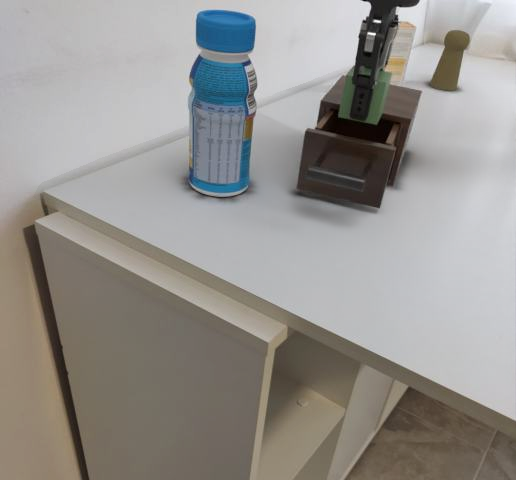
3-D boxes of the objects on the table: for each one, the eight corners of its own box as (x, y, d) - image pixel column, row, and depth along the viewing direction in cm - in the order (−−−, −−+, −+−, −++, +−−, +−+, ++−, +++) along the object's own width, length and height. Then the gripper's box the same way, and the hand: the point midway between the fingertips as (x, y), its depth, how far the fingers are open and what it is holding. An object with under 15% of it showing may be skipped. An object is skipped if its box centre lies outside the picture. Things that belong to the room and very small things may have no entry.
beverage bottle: (205, 203, 68) (210, 25, 55) (176, 176, 73) (175, 7, 60) (261, 192, 72) (278, 23, 59) (230, 167, 77) (239, 6, 64)
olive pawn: (455, 92, 118) (473, 36, 110) (427, 87, 119) (443, 31, 112) (457, 85, 122) (475, 31, 115) (431, 80, 123) (446, 26, 116)
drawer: (372, 228, 66) (388, 167, 61) (284, 206, 68) (292, 146, 63) (393, 170, 80) (408, 117, 75) (320, 154, 82) (329, 101, 77)
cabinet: (392, 186, 78) (411, 118, 71) (309, 167, 80) (320, 100, 74) (405, 152, 88) (422, 90, 82) (331, 136, 91) (342, 75, 84)
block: (345, 106, 72) (353, 65, 68) (382, 113, 71) (392, 72, 67) (337, 117, 68) (345, 74, 65) (376, 125, 67) (386, 82, 64)
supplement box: (391, 91, 114) (408, 20, 105) (399, 98, 110) (417, 26, 102) (354, 89, 112) (369, 17, 104) (361, 97, 109) (377, 23, 100)
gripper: (373, -59, 64) (344, 92, 75) (349, -50, 53) (320, 123, 65) (436, -50, 62) (397, 102, 74) (424, -39, 52) (382, 136, 63)
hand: (362, 111), depth 69 cm, fingers closed on block, 5 cm apart
